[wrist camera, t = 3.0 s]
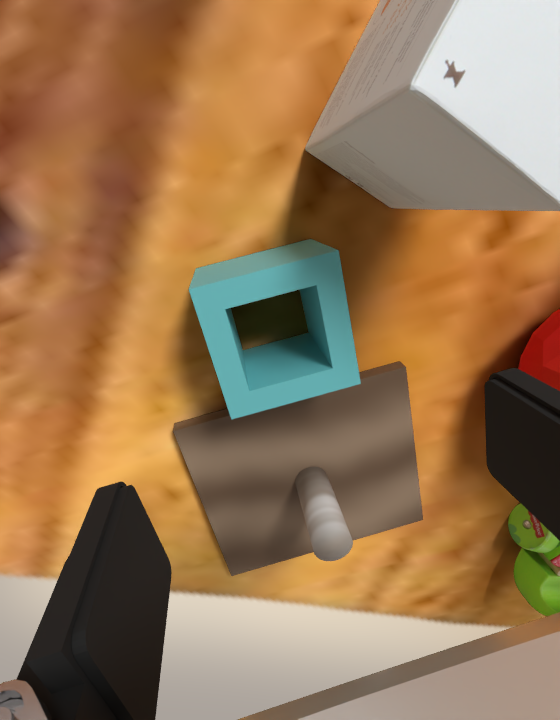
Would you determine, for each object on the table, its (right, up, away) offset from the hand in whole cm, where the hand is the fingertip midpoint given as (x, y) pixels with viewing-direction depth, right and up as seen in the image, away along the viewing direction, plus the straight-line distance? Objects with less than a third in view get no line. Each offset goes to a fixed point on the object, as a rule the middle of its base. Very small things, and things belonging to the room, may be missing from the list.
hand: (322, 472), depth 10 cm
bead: (-2, +6, +15) cm, 16 cm away
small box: (+5, +16, +12) cm, 21 cm away
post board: (+1, -6, +20) cm, 20 cm away
